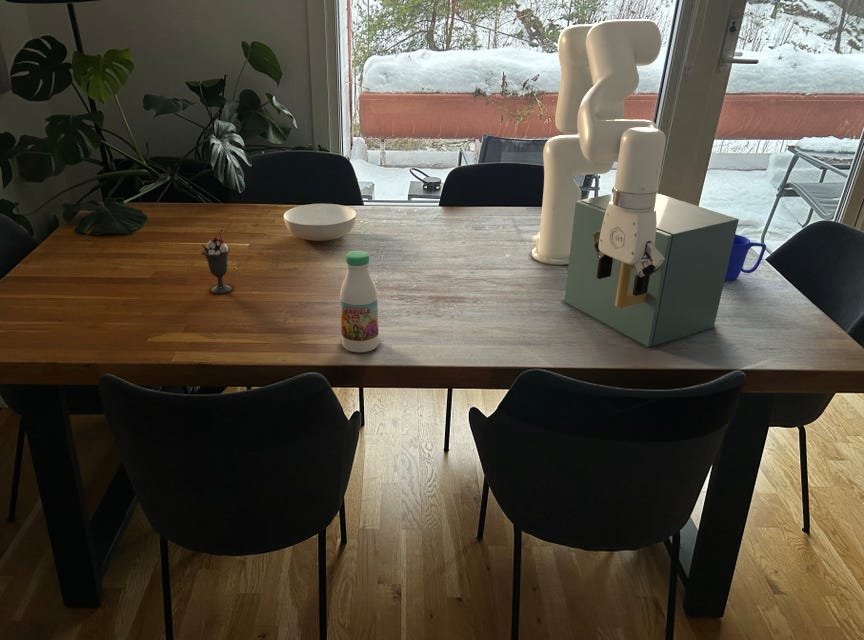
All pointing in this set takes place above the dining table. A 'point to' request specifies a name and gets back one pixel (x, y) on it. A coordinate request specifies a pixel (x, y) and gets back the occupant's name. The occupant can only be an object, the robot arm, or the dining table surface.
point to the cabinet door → (612, 281)
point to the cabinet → (689, 265)
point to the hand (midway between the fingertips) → (621, 285)
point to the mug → (741, 257)
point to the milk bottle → (359, 305)
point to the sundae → (217, 262)
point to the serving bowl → (320, 221)
